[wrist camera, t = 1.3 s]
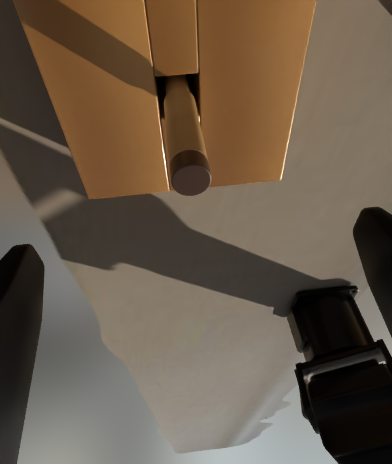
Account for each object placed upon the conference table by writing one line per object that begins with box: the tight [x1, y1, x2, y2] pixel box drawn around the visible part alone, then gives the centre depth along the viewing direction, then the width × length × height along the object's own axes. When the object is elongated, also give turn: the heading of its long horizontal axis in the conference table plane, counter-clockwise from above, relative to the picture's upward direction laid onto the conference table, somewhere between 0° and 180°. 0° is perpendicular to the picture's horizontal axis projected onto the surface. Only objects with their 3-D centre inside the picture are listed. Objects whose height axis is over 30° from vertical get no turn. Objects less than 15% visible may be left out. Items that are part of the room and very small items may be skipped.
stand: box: [12, 0, 316, 199], centre depth 15 cm, size 10×10×4 cm
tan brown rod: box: [164, 74, 212, 196], centre depth 14 cm, size 1×1×9 cm
